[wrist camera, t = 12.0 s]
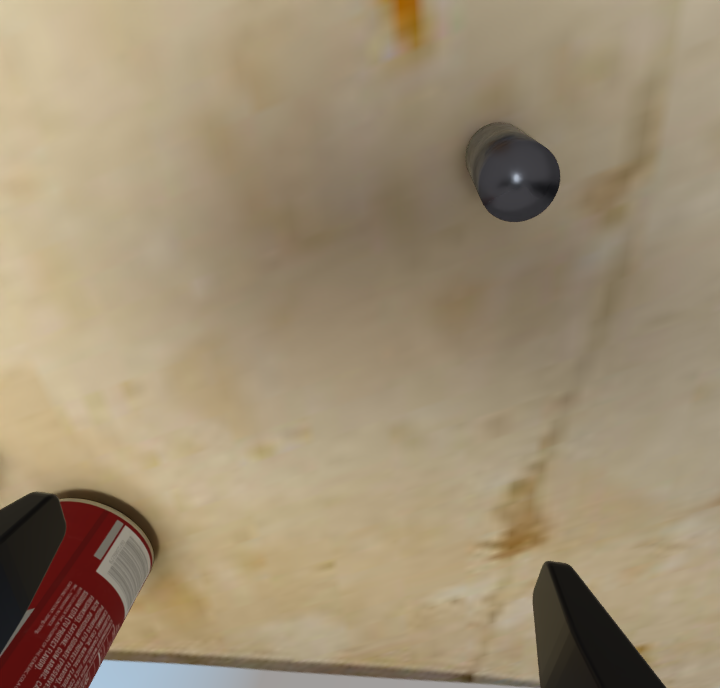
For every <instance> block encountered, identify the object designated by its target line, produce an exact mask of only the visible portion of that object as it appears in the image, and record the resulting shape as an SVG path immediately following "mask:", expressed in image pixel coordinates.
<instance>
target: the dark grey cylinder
mask: <svg viewBox="0 0 720 688" xmlns="http://www.w3.org/2000/svg"><path fill="white" fill-rule="evenodd" d="M466 165H467V169H468V171H469V173H470V176H471V178H472V180H473V182H474V185H475V187H476V189H477V191H478V194H479V196H480V198H481V201H482V203H483V205H484V206H485V208H486V209H487V210H488V211H489V212H490V213H491V214H492V215H493V216H495V217H497V218H499V219H501V220H504V221H509V222H520V221H525V220H528V219H531V218H533V217H535V216H537V215H539V214H540V213H541V212H543V211H544V210H545V209H546V208H547V207H548V206H549V205H550V203H551V202H552V201H553V199H554V197H555V196H556V193H557V191H558V188H559V183H560V170H559V166H558V163H557V160H556V159H555V157H554V155H553V154H552V153H551V152H550V151H549V150H548V149H547V148H545V147H544V146H543V145H541V144H540V143H538V142H537V141H535V140H534V139H532V138H531V137H529V136H528V135H526V134H525V133H523V132H522V131H521V130H519V129H518V128H516V127H515V126H513V125H511V124H508V123H502V122H498V123H492V124H489V125H487V126H484V127H483V128H481V129H480V130H479V131H477V132H476V133H475V135H474V136H473V137H472V139H471V140H470V142H469V144H468V147H467V150H466Z"/></svg>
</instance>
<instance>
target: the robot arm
mask: <svg viewBox="0 0 720 688" xmlns="http://www.w3.org/2000/svg"><path fill="white" fill-rule="evenodd" d="M65 533H66V521H65V518H64V514H63V511H62V507H61V504H60V501H59V498H58V497H57V496H56V495H55V494H51V493H44V492H32V493H30V494H28V495H26V496H24V497H22V498H20V499H19V500H17V501H15V502H13V503H11V504H10V505H8V506H6V507H4V508H3V509H1V510H0V654H1V652H2V651H3V649H4V648H5V646H6V644H7V643H8V641H9V640H10V638H11V636H12V635H13V633H14V632H15V630H16V628H17V627H18V625H19V623H20V622H21V620H22V618H23V617H24V615H25V613H26V611H27V609H28V607H29V606H30V604H31V602H32V600H33V598H34V596H35V594H36V592H37V590H38V588H39V586H40V584H41V582H42V580H43V578H44V576H45V574H46V572H47V570H48V568H49V566H50V564H51V562H52V560H53V558H54V556H55V554H56V552H57V550H58V548H59V546H60V544H61V542H62V540H63V538H64V536H65ZM533 611H534V622H535V633H536V644H537V655H538V666H539V677H540V687H541V688H666V687H665V685H664V684H663V683H662V682H661V680H660V679H659V678H658V677H657V675H656V674H655V673H654V671H653V670H652V669H651V668H650V666H649V665H648V664H647V662H646V661H645V660H644V659H643V657H642V656H641V655H640V653H639V652H638V651H637V650H636V648H635V647H634V646H633V645H632V643H631V642H630V641H629V639H628V638H627V637H626V636H625V634H624V633H623V632H622V630H621V629H620V628H619V627H618V625H617V624H616V623H615V621H614V620H613V619H612V618H611V616H610V615H609V614H608V613H607V611H606V610H605V609H604V607H603V606H602V605H601V604H600V602H599V601H598V600H597V598H596V597H595V596H594V595H593V593H592V592H591V591H590V589H589V588H588V587H587V586H586V584H585V583H584V582H583V580H582V579H581V578H580V577H579V575H578V574H577V573H576V572H575V570H574V569H573V568H572V567H571V566H570V565H568V564H566V563H561V562H553V561H546V562H545V563H544V564H543V566H542V569H541V571H540V574H539V577H538V580H537V582H536V585H535V588H534V591H533Z"/></svg>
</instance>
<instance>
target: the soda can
mask: <svg viewBox="0 0 720 688" xmlns="http://www.w3.org/2000/svg"><path fill="white" fill-rule="evenodd" d="M59 501H60V504H61V507H62V511H63V514H64V518H65V521H66V533H65V536H64V538H63V540H62V542H61V544H60V546H59V548H58V550H57V552H56V554H55V556H54V558H53V560H52V562H51V564H50V566H49V568H48V570H47V572H46V574H45V576H44V578H43V580H42V582H41V584H40V586H39V588H38V590H37V592H36V594H35V596H34V598H33V600H32V602H31V604H30V606H29V607H28V609H27V611H26V613H25V615H24V617H23V618H22V620H21V622H20V623H19V625H18V627H17V628H16V630H15V632H14V633H13V635H12V636H11V638H10V640H9V641H8V643H7V644H6V646H5V648H4V649H3V651H2V652H1V654H0V688H88V687H89V686H90V684H91V682H92V680H93V678H94V676H95V674H96V672H97V671H98V669H99V667H100V665H101V663H102V661H103V659H104V657H105V656H106V654H107V652H108V650H109V648H110V646H111V644H112V642H113V641H114V639H115V637H116V635H117V633H118V631H119V629H120V627H121V626H122V624H123V622H124V620H125V618H126V616H127V614H128V612H129V610H130V609H131V607H132V605H133V603H134V601H135V599H136V597H137V595H138V594H139V592H140V590H141V588H142V586H143V584H144V582H145V580H146V578H147V577H148V575H149V573H150V571H151V569H152V566H153V562H154V553H153V549H152V546H151V543H150V541H149V539H148V538H147V536H146V535H145V533H144V532H143V531H142V530H141V529H140V527H139V526H138V525H136V524H135V523H134V522H133V521H132V520H131V519H130V518H128V517H127V516H125V515H124V514H123V513H121V512H119V511H118V510H116V509H114V508H112V507H109V506H107V505H104V504H101V503H98V502H95V501H91V500H86V499H78V498H64V499H59Z"/></svg>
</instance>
